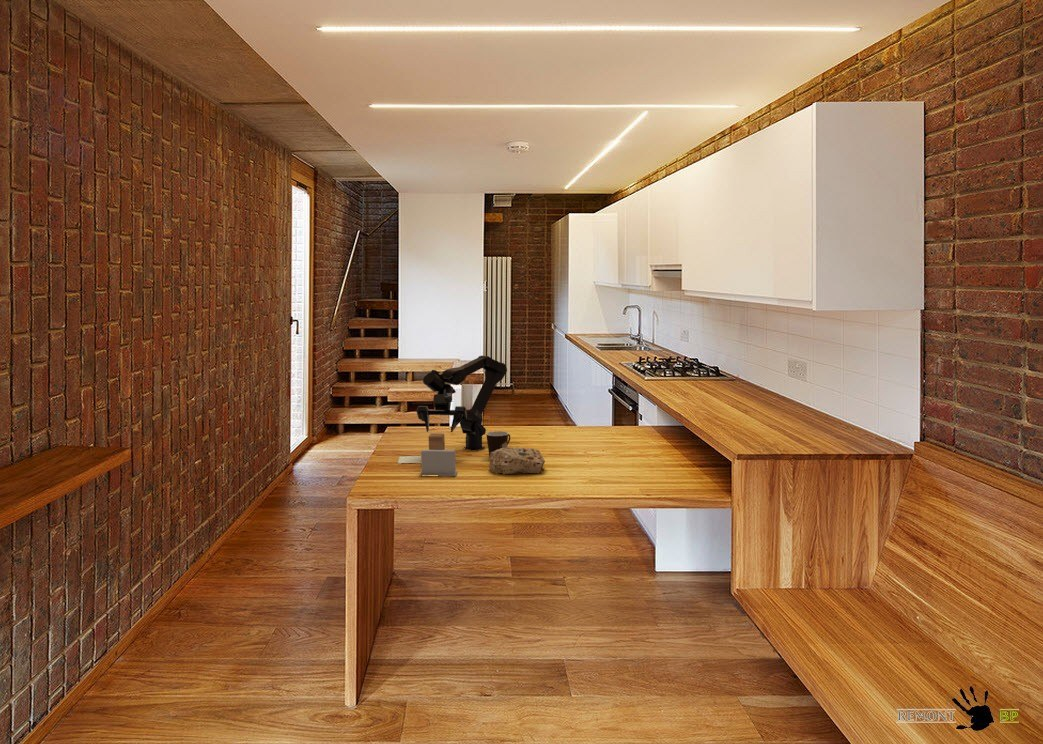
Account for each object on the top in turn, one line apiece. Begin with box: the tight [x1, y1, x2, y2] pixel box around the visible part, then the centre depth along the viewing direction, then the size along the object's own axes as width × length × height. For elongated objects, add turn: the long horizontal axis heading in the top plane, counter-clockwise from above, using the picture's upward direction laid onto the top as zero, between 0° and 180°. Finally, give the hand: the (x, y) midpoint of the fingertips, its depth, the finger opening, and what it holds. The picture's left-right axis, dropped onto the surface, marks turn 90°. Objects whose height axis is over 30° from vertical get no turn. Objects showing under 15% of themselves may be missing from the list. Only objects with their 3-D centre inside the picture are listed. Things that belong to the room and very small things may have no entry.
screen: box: [419, 449, 458, 477], centre depth 271 cm, size 13×4×9 cm, turn 86°
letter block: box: [428, 432, 446, 450], centre depth 278 cm, size 5×5×13 cm
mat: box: [397, 455, 421, 465], centre depth 292 cm, size 10×10×1 cm
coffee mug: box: [485, 430, 511, 458], centre depth 294 cm, size 12×9×10 cm
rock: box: [488, 446, 546, 475], centre depth 276 cm, size 21×14×10 cm
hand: (439, 431), depth 284 cm, fingers open, 9 cm apart
